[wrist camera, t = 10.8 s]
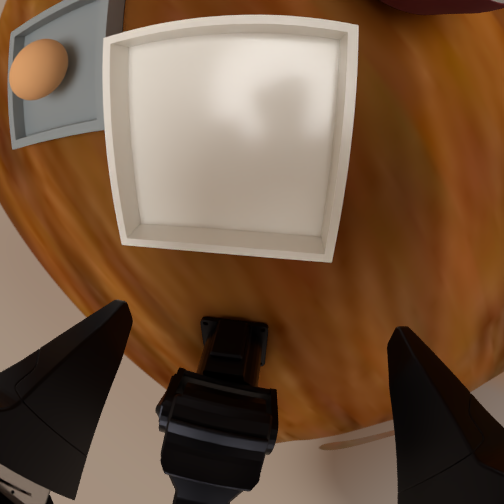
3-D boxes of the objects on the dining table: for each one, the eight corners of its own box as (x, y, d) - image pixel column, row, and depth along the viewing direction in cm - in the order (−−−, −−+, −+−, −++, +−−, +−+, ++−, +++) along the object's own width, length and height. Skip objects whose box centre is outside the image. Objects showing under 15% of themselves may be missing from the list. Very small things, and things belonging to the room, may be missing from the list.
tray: (122, 124, 18) (106, 129, 16) (28, 143, 19) (12, 149, 17) (126, -14, 11) (111, -21, 10) (26, 32, 12) (10, 32, 11)
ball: (80, 88, 15) (36, 95, 11) (39, 102, 16) (-2, 112, 12) (82, 32, 13) (39, 27, 9) (40, 50, 13) (-2, 52, 9)
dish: (326, 240, 21) (331, 262, 18) (138, 226, 22) (122, 244, 20) (347, 35, 13) (358, 25, 10) (126, 42, 14) (103, 38, 12)
